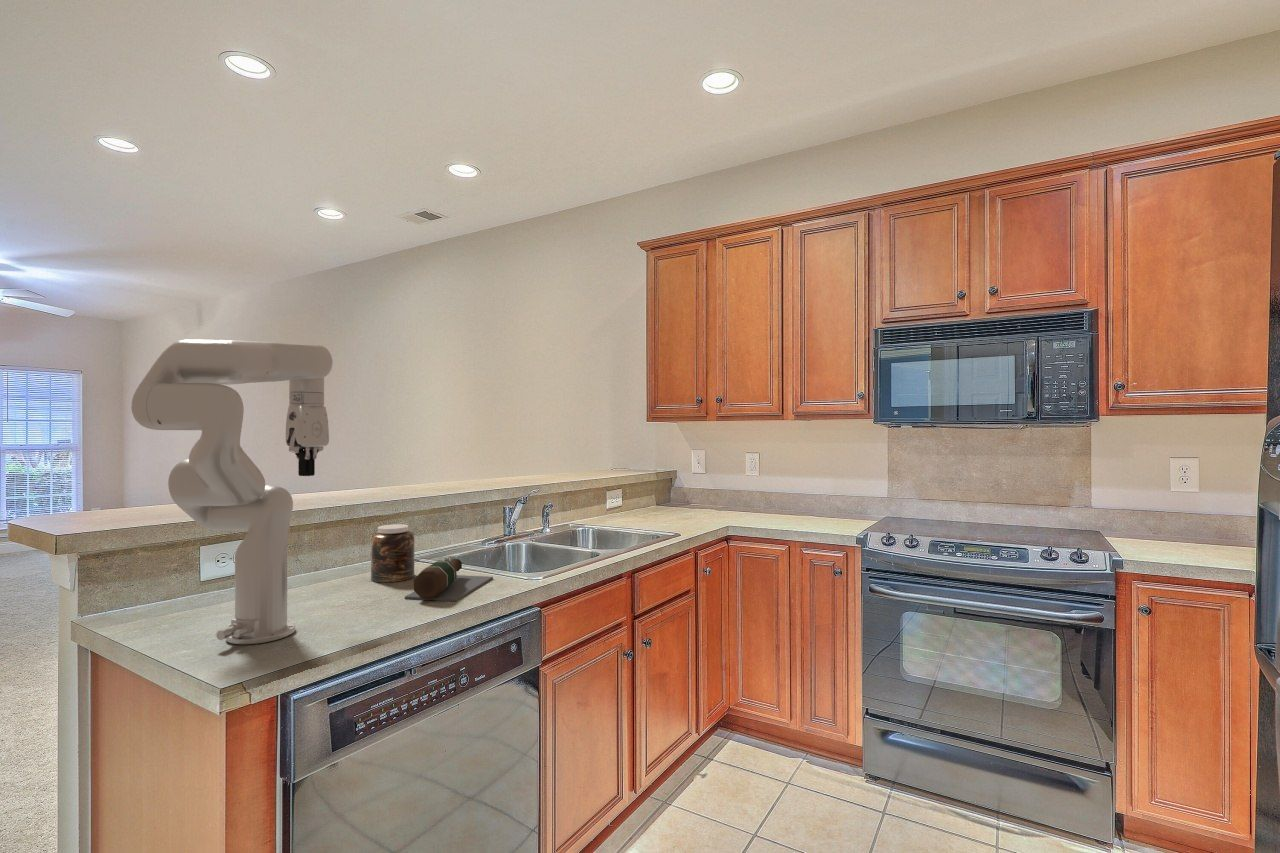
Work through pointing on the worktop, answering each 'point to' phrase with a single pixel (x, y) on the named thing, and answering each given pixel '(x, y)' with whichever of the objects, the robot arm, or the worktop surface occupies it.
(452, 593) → the mat
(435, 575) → the beer bottle
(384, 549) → the jar
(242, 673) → the worktop surface
